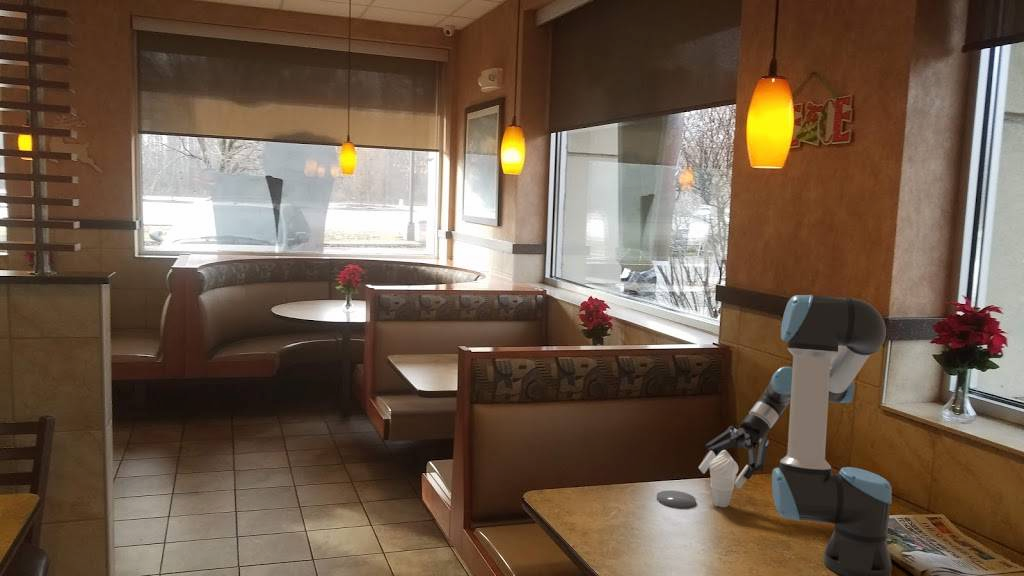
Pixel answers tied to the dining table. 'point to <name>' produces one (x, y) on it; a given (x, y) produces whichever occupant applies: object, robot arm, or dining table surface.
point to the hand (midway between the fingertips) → (718, 478)
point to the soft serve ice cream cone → (722, 478)
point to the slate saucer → (676, 499)
